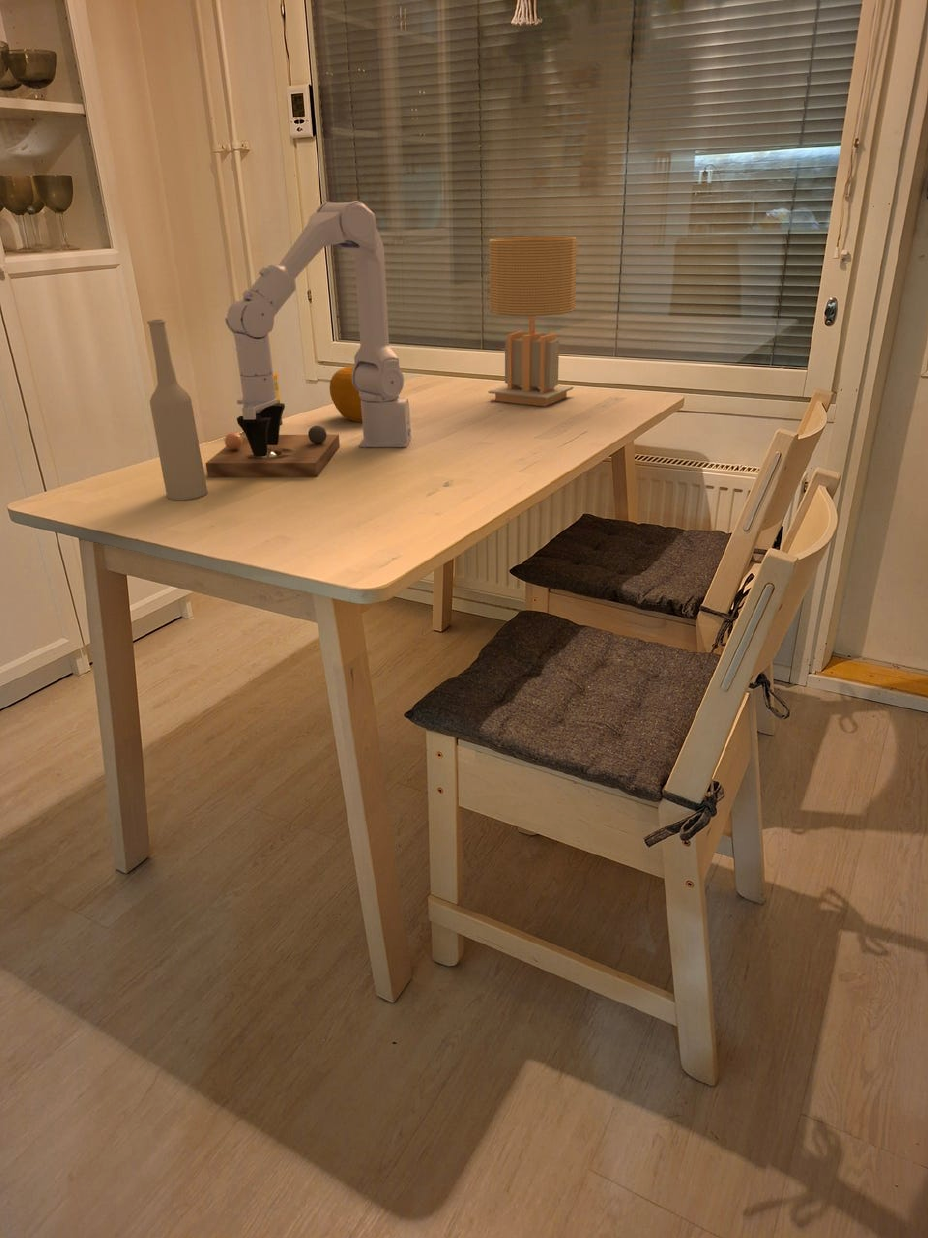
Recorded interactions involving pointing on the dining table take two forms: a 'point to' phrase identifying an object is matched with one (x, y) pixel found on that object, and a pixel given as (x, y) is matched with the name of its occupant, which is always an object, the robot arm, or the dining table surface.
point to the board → (275, 458)
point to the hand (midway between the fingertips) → (266, 450)
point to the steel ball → (270, 454)
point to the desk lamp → (532, 311)
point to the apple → (346, 394)
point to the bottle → (174, 425)
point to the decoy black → (317, 434)
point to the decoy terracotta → (233, 441)
